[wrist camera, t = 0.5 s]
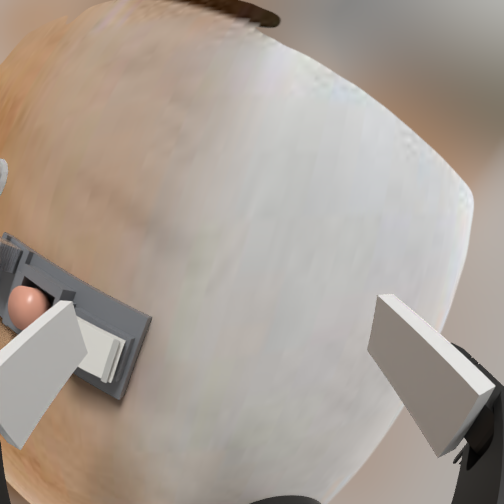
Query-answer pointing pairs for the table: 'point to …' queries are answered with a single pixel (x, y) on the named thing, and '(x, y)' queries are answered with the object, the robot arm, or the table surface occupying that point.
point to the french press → (3, 174)
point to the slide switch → (9, 256)
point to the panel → (79, 310)
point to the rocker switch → (100, 351)
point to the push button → (27, 305)
